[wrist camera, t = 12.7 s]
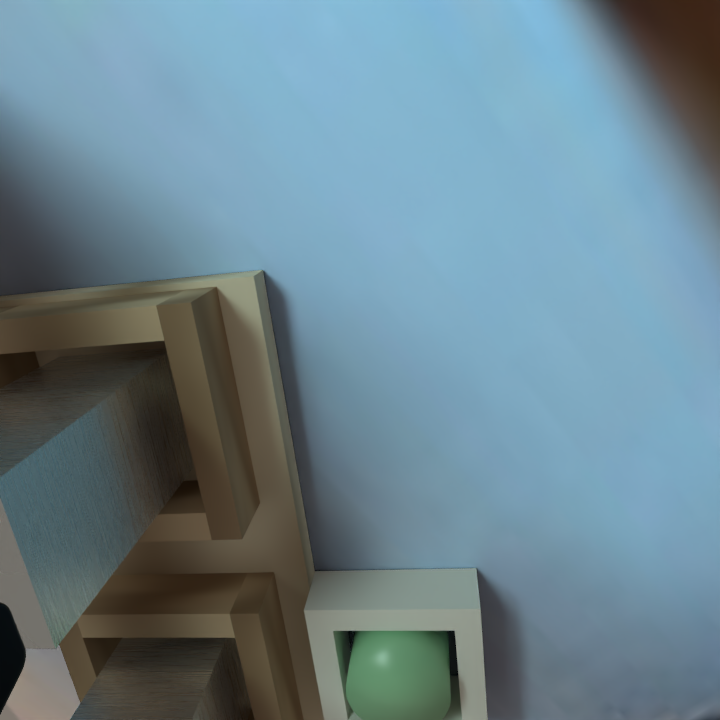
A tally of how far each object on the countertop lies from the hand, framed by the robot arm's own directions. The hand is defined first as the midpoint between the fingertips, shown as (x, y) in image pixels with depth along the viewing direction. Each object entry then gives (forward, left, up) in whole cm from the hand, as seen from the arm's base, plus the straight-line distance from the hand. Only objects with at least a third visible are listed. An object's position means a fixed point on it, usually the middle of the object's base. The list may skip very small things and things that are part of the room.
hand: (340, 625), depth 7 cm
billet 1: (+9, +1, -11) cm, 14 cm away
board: (+9, +7, -12) cm, 17 cm away
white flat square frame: (+1, +12, -12) cm, 17 cm away
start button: (+1, +12, -12) cm, 17 cm away
